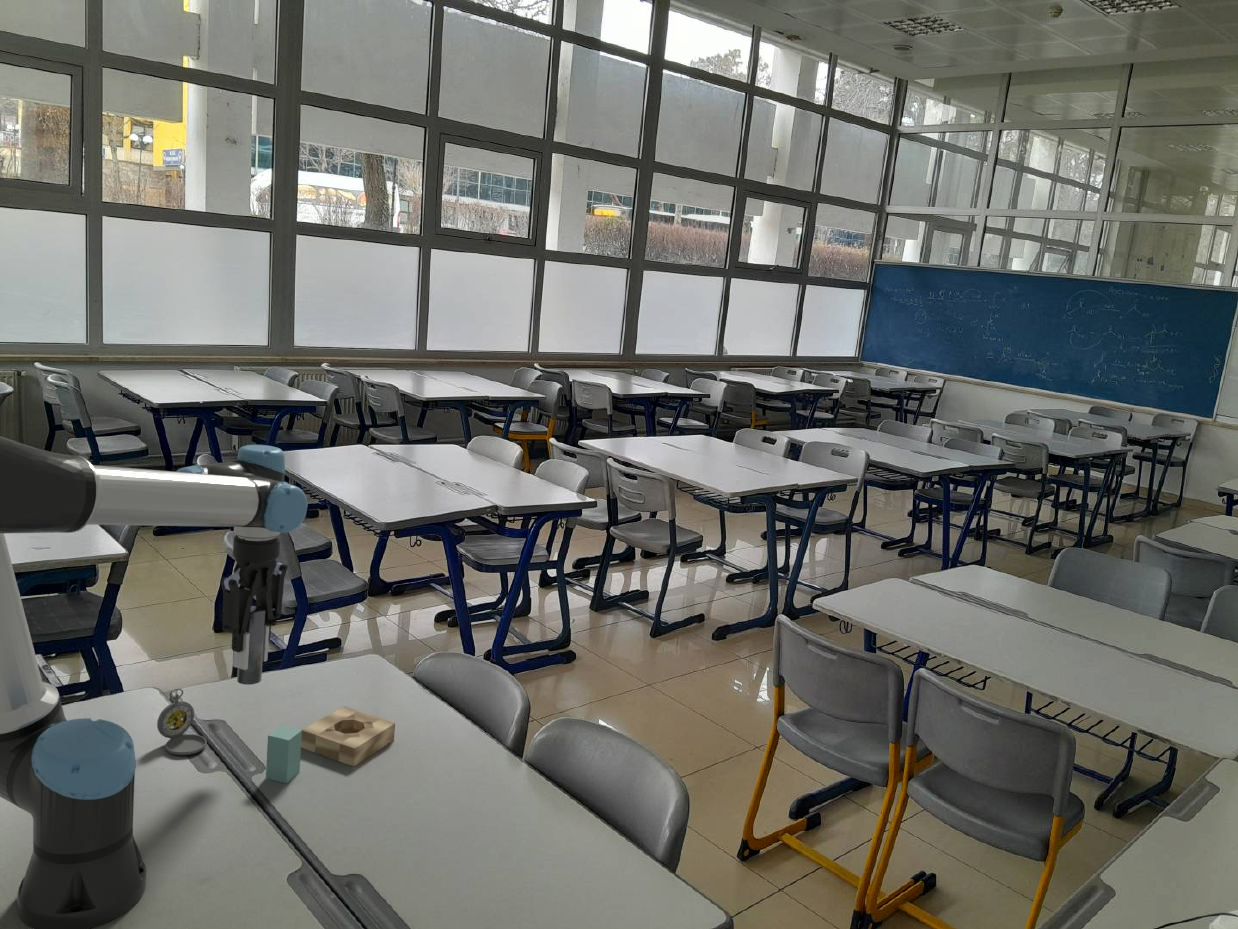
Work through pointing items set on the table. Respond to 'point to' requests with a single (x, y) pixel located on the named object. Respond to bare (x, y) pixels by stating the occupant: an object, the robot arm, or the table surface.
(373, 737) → the socket block
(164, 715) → the pocket watch
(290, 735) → the square bit
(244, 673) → the cylinder
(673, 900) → the table surface
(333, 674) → the table surface
